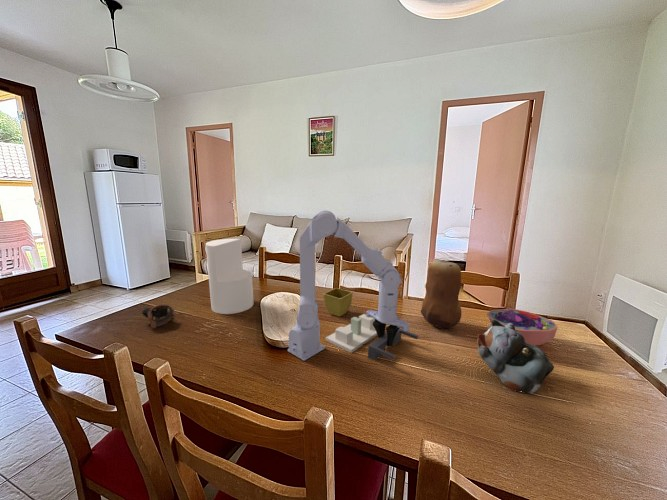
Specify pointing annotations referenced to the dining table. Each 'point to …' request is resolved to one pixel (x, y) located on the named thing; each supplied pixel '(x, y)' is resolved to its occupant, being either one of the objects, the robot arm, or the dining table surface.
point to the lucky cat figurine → (513, 358)
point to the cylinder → (228, 277)
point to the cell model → (526, 324)
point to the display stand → (353, 333)
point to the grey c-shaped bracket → (380, 345)
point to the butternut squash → (442, 294)
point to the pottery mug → (158, 314)
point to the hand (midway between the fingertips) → (385, 343)
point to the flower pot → (338, 301)
